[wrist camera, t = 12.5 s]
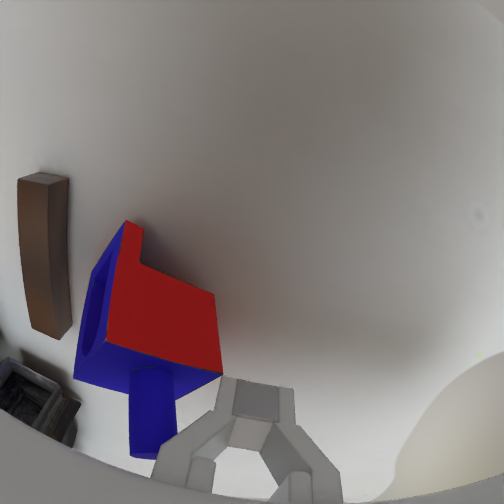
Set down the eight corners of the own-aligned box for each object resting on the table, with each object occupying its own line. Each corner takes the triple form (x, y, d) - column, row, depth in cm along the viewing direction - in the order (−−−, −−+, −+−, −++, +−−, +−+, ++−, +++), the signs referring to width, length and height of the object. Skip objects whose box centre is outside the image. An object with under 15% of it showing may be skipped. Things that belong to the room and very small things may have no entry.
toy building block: (167, 303, 15) (174, 466, 9) (90, 271, 13) (67, 451, 7) (210, 262, 14) (235, 453, 8) (125, 219, 11) (98, 439, 6)
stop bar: (37, 171, 11) (17, 178, 10) (69, 177, 11) (48, 184, 10) (45, 313, 14) (31, 328, 13) (72, 325, 15) (59, 341, 13)
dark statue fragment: (41, 435, 21) (15, 481, 15) (5, 339, 16) (-46, 397, 10) (98, 462, 21) (76, 515, 15) (77, 376, 16) (31, 453, 10)
